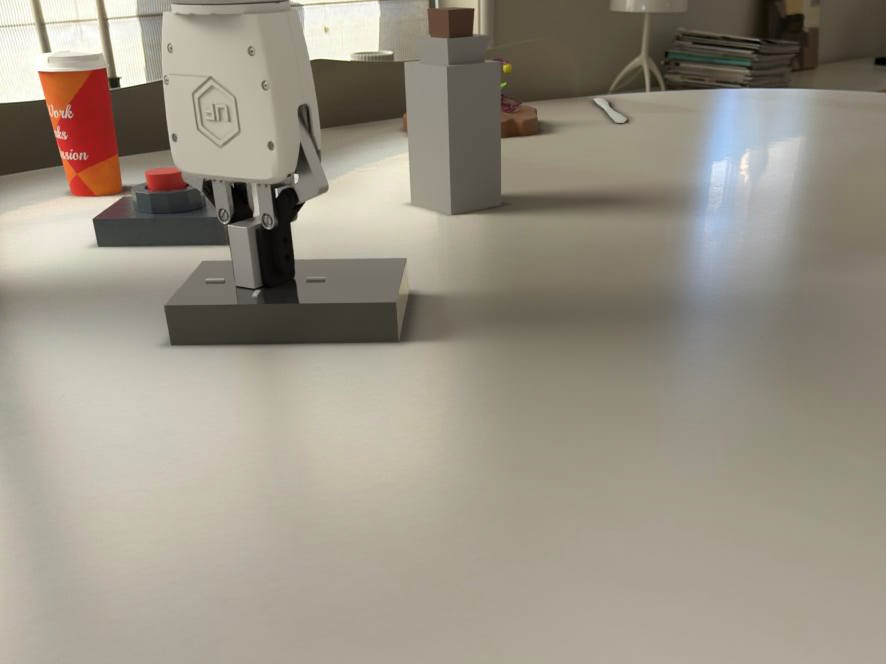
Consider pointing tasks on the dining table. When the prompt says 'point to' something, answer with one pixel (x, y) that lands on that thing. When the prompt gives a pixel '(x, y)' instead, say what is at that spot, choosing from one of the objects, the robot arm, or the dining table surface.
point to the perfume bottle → (453, 116)
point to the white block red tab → (245, 252)
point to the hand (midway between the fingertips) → (265, 278)
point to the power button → (164, 179)
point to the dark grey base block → (292, 305)
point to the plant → (510, 113)
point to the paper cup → (82, 119)
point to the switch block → (160, 220)
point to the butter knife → (610, 110)
